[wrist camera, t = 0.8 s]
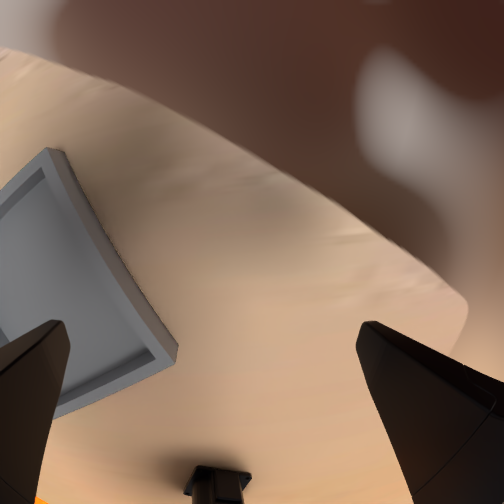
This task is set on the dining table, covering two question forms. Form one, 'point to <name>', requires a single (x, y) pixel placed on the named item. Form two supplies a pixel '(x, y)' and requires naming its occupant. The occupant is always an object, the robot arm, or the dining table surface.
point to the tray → (74, 285)
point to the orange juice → (39, 501)
